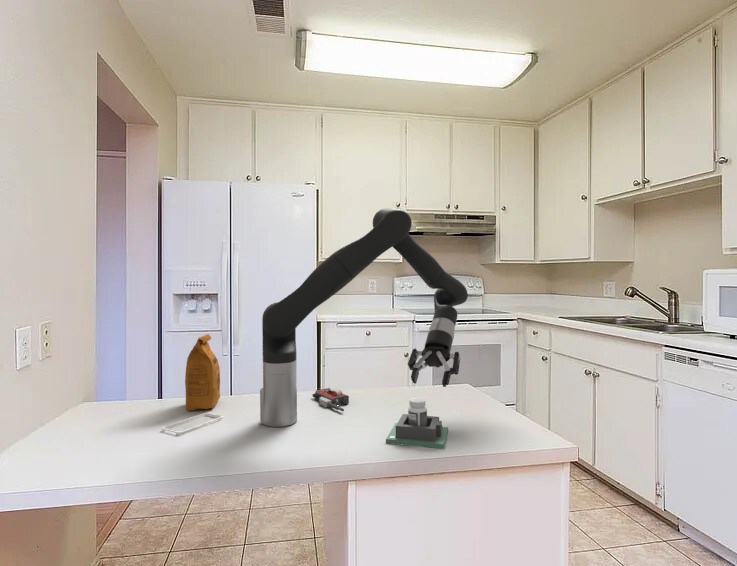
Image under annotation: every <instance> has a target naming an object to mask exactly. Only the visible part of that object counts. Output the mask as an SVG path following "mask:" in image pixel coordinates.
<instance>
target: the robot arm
mask: <svg viewBox="0 0 737 566" xmlns="http://www.w3.org/2000/svg"><path fill="white" fill-rule="evenodd" d="M372 227H373V228H372V229H371V230H370V231H368V233H366V234H365V235H363V236H362V237H360V238H359V239H357V240H355V241H352V242H351V243H348V244H346V245H345V246H343V247H340V248H339V249H337V250H336V251H334V252H333V253H332V254H331V255H329V256H328V257H327V258H326V259H325V260H324V261H322V262H321V263H320V264H319V265H318V266H317V267H316V268H315V269H314V270H313V271H312V272H311V273H310V274H309V275H308V277H307V278H305V280H304V281H303V283H301V284H300V286H299V287H297V288H296V289H295V290H294V291H293V292H291V293H290V294H288V295H287V296H286V297H284V298H282V299H281V300H280V301H278V302H274V303H270V305H268V306H267V307H266V308H265V310H264V311H263V314H262V323H261V325H262V329H261V330H262V332H261V333H262V387H261V388H260V389H259V407H260V409H259V416H260V419H259V421H260V422H259V423H260V424H263V425H265V426H268V427H273V428H275V427H278V428H280V427H287V426H291V425H293V424H296V423H297V421H298V402H297V401H298V395H297V393H298V391H297V390H298V389H297V388H298V387H297V382H298V381H297V379H298V378H297V343H296V342H297V340H296V337H297V336H296V332H297V331H296V328H297V327H298V326H299V325H301V323H302V322H303V321H304V320H305V319H306V318H307V317H308V316H309V315H310V314H311V313H312V312H313V311H314V310H315V309H316V308H318V307H319V306H320V305H322V304H323V303H325V302H326V301H327V300H330V298H332V297H333V296H334V295H336V294H337V293H338V292H339V291H341V290H342V289H343V288H345V287H346V286H347V285H348V284H349V283H351V282H352V281H353V280H354V279H355V278H356V277H358V275H360V274H361V273H362V272H363V271H364V270H366V268H367V267H368V266H370V265H371V264H372V263H373V262H375V260H376V259H377V258H378V257H379V256H381V255H382V254H384V253H385V252H387V251H389V249H391V248H392V249H394V250H395V251H396V252H397V253H398V254H399V255H400V256H401V257H402V258H403V259H404V260H405V261H406V262H407V263H408V265H410V267H411V268H412V269H413V270H414V271H415V273H416V274H417V275H418V276H419V277H420V278H421V279H422V281H423V282H424V283H425V284H426V286H427V287H429V288H430V289H432V290H435V292H434V295H433V304H434V313H433V317H432V320H431V321H432V322H431V323H430V326H429V329H428V333H427V336H426V340H425V343H424V348H423V350H422V351H421V350H417V348H413V349H412V351H411V353H410V356H409V359H408V362H407V365H408V368H409V370H410V371H411V375H410V379H411V382H412V383H413V384H417V382H418V379H419V376H420V375H419V374H420V372H421V371H422V370H424V369H426V368H427V367H429V368H432V367H435V368H441V367H442V368H443V370H444V372H443V376H442V380H441V384H442V387H444V388H446V387H447V386H448V385H450V379H451V376H452V375H455V376H456V375H458V374H459V370H460V363H461V356H460V352H459V351H455V352H454V353H451V350H452V346H453V341H454V339H455V333H456V332H455V328H456V326H457V325H456V324H457V320H458V311H457V309H456V308H455V307H456V306H460V305H462V304H465V303H466V301H467V300H468V296H469V293H468V290H467V288H466V286H465V285H464V284H463V282H461V281H460V280H459V279H457V278H456V277H454V276H452V275H451V273H450V274H449V273H448V272H447V271H445V269H444V268H443V267H442V266H441V264H440V263H439V262H438V260H436V258H435V257H434V256H432V255H431V253H429V252H428V251H427V250H426V249H425V248H424V247H422V246H421V245H420V244H419V243H417V241H415V239H414V238H413V237H412V236H411V234H409V233H410V232H411V230H412V218H411V216H410V215H409V213H408V212H406V211H405V210H402V209H399V208H392V207H391V208H389V207H388V208H387V207H385V208H381V209H380V210H378V211H377V212H376V213H375V214H374V216H373V218H372ZM421 356H422V357H421ZM450 359H451V361H452V363H453V364H452V367H450V366H449V364H448V363H447V362H448V361H450ZM417 360H418V361H417Z"/></svg>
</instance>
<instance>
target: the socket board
mask: <svg viewBox="0 0 737 566" xmlns="http://www.w3.org/2000/svg"><path fill="white" fill-rule="evenodd" d="M442 424H443V422H442V421H441V420H440V416H431V415H427V426H415V425H408V414H406V413H403V414H402V415H401V417H400V418H399V419H398V422H395V424H394V425H393V426H392V428H391V430H390V431H389V433H388V435H387V436H386V437H385V443H386V444H390V443H394V444H393V445H401V444H403V445H402V446H411V445H412V446H413V447H421V446H422V448H432V447H433V448H434V449H442V448H444V449H445V446H444V445H446V442H447V437H448V433H449V427H448V426H447V427H446V426H443V425H442Z"/></svg>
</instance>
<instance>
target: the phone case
mask: <svg viewBox="0 0 737 566" xmlns="http://www.w3.org/2000/svg"><path fill="white" fill-rule="evenodd" d="M202 417H211V418H214V419H211V420H209V421H206V422H205V421H204V422H203V423H201V424H198V425H195V426H192V427H189V428H187V429H184V430H181V431H179V430H177V431H176V430H173V429H172V428H175V427H178V426H181V425H183V424H186V423H189V422H192V421H194V420H197V419H200V418H202ZM222 419H223V420H224V416H223V415H219V414H214V413H211V412H203V413H201V414H198V415H197V414H196V415H195V416H191V417H189V418H186V419H183V420H181V421H178V422H174V423H173V424H170V425H166V426H163V427H162V428H161V431H162V432H163V433H165V432H166V431H167V432H170V433H171V432H172V433H175V435H176V436H184V435H186V434H189V433H192V432H193V431H196V430H199V429H202V428H204V427H207V426H208V424H210V423H213V422H216V421H219V422H220V421H222Z"/></svg>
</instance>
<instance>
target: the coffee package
mask: <svg viewBox="0 0 737 566" xmlns="http://www.w3.org/2000/svg"><path fill="white" fill-rule="evenodd" d="M211 339H212V336H211V335H210V333H207V334H205V335H204V334H203V336H200V337H198V338H197V341H196V343H195V344H194V346H193V347H192V349H191V350H190V352H189V354H188V356H187V358H186V359H187V360H186V366H185V377H184V384H185V386H184V387H185V411H187V412H188V411H189V412H191V411H198V410H208V409H213V408H214V407H215V406H216V404H217V403H218V402H219V400H220V398H221V391H220V390H221V389H220V388H221V369H220V368H221V367H220V363H219V360H218V358H217V356H216V355H215V354H214V352H213V351H212V350H211V347H210V343H209V341H210V340H211Z"/></svg>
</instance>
